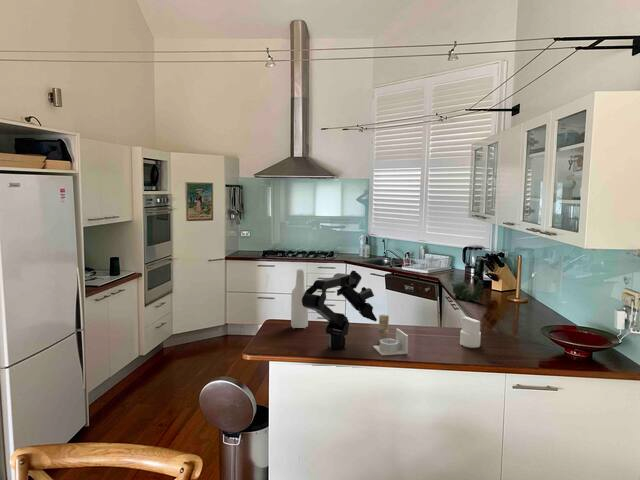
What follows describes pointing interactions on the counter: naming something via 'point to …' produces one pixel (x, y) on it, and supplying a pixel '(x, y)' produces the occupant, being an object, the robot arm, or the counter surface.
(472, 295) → the toy figurine
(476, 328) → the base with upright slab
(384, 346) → the cup bracket
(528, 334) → the counter surface
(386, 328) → the maple rail post
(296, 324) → the alcohol
